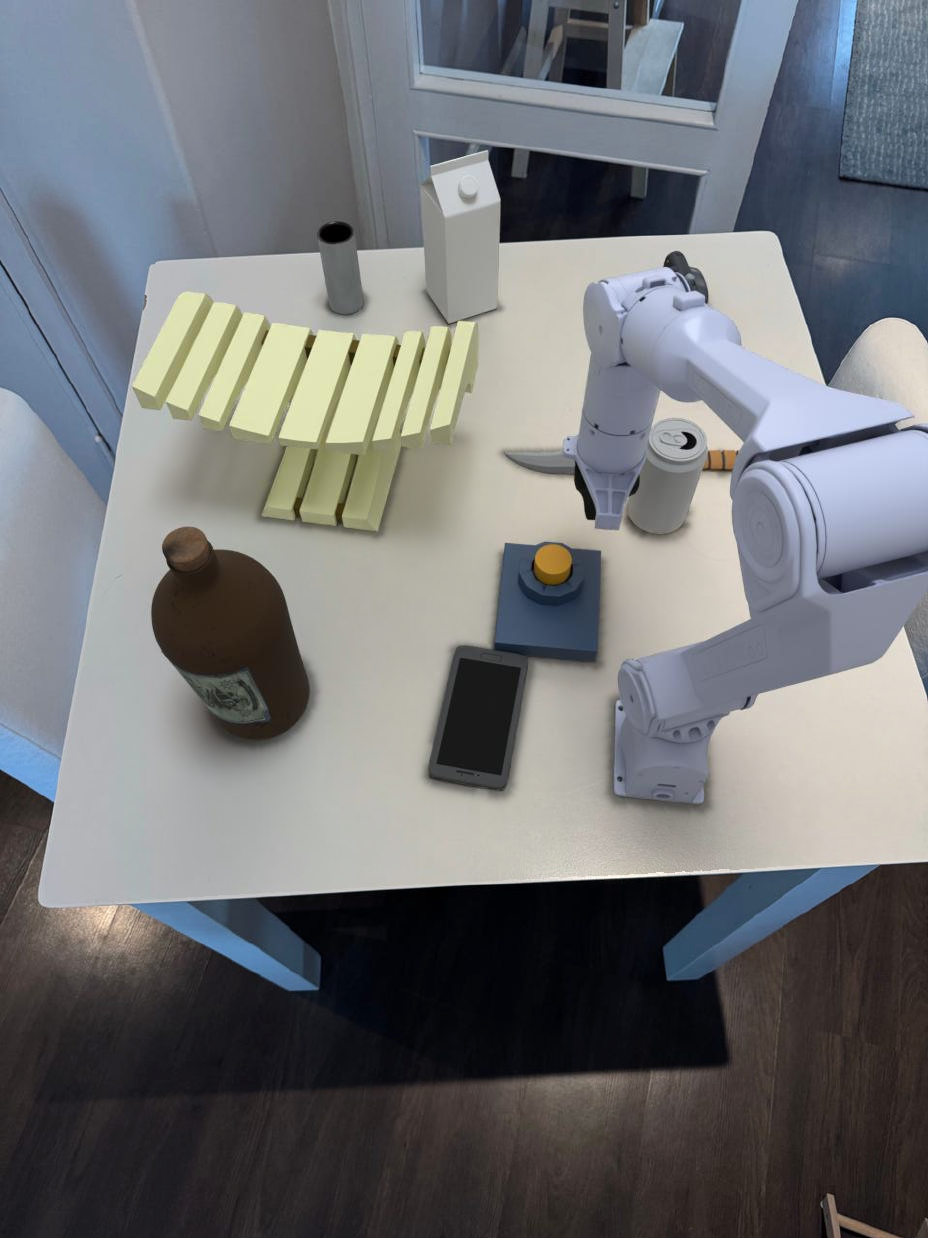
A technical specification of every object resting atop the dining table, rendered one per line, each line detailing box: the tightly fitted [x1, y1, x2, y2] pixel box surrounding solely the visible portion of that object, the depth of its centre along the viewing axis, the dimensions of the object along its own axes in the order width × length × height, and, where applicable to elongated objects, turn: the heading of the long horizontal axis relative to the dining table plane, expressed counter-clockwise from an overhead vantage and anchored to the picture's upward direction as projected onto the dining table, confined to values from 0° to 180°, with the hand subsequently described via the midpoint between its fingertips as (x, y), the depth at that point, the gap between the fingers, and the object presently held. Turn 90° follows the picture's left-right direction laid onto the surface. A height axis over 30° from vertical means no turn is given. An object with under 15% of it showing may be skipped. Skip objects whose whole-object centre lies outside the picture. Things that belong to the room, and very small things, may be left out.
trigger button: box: [534, 544, 572, 586], centre depth 83 cm, size 4×4×2 cm
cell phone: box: [428, 644, 529, 791], centre depth 79 cm, size 7×14×1 cm, turn 169°
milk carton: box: [419, 149, 501, 324], centre depth 102 cm, size 7×7×19 cm
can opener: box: [662, 250, 709, 305], centre depth 104 cm, size 18×7×6 cm, turn 3°
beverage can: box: [627, 417, 709, 535], centre depth 86 cm, size 6×6×12 cm
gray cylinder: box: [316, 220, 365, 315], centre depth 105 cm, size 4×4×10 cm
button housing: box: [493, 541, 602, 663], centre depth 84 cm, size 12×10×4 cm
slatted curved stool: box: [131, 291, 479, 533], centre depth 88 cm, size 30×16×18 cm, turn 80°
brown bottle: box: [150, 526, 310, 740], centre depth 70 cm, size 11×11×25 cm
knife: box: [504, 449, 740, 475], centre depth 95 cm, size 30×1×5 cm
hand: (597, 514), depth 78 cm, fingers closed
